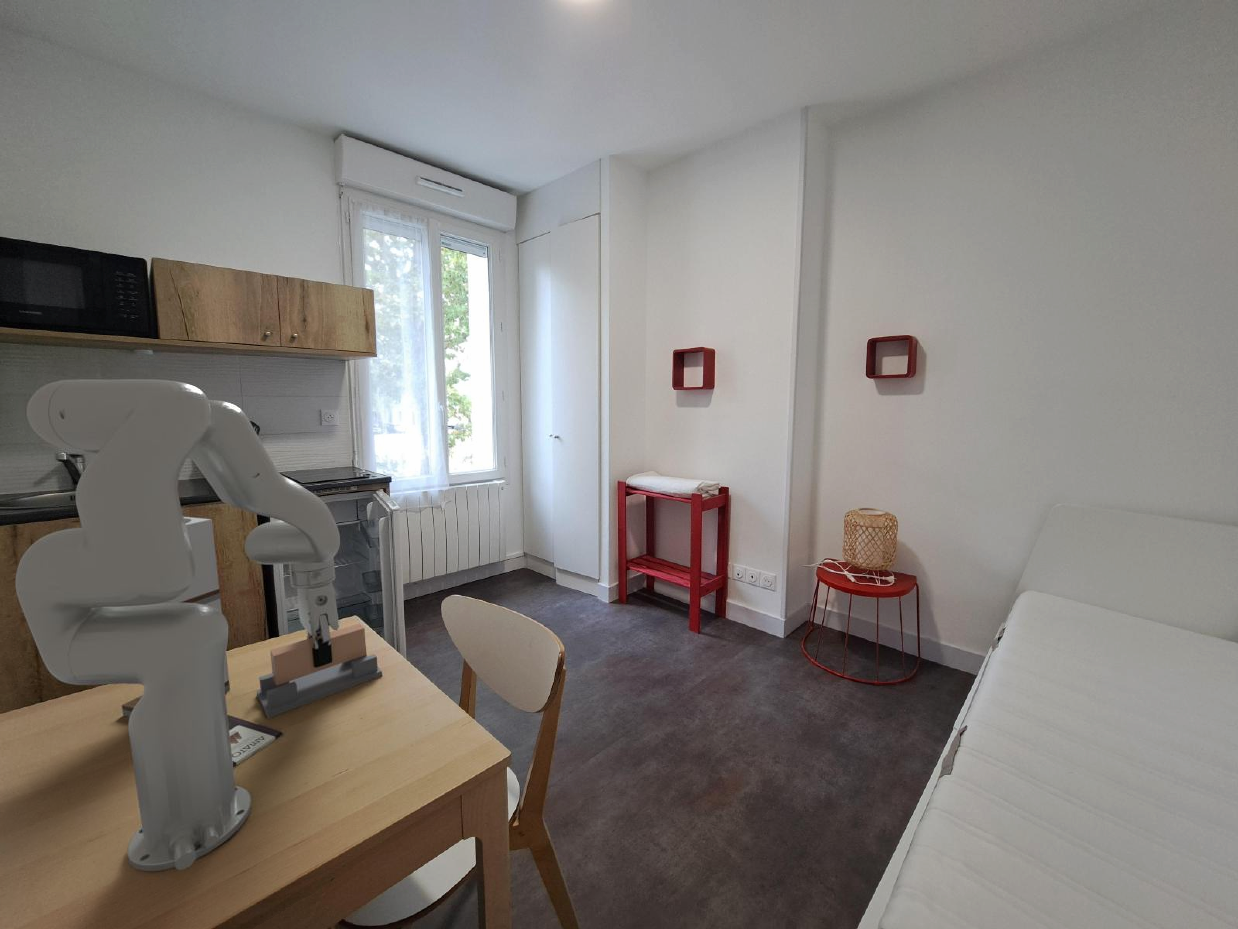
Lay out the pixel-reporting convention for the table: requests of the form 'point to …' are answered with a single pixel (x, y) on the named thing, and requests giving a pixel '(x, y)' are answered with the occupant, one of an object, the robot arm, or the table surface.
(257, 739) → the chocolate bar
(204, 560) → the white open storage bin
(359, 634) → the clay bar
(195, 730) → the robot arm
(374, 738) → the table surface
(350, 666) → the grey slotted stand
